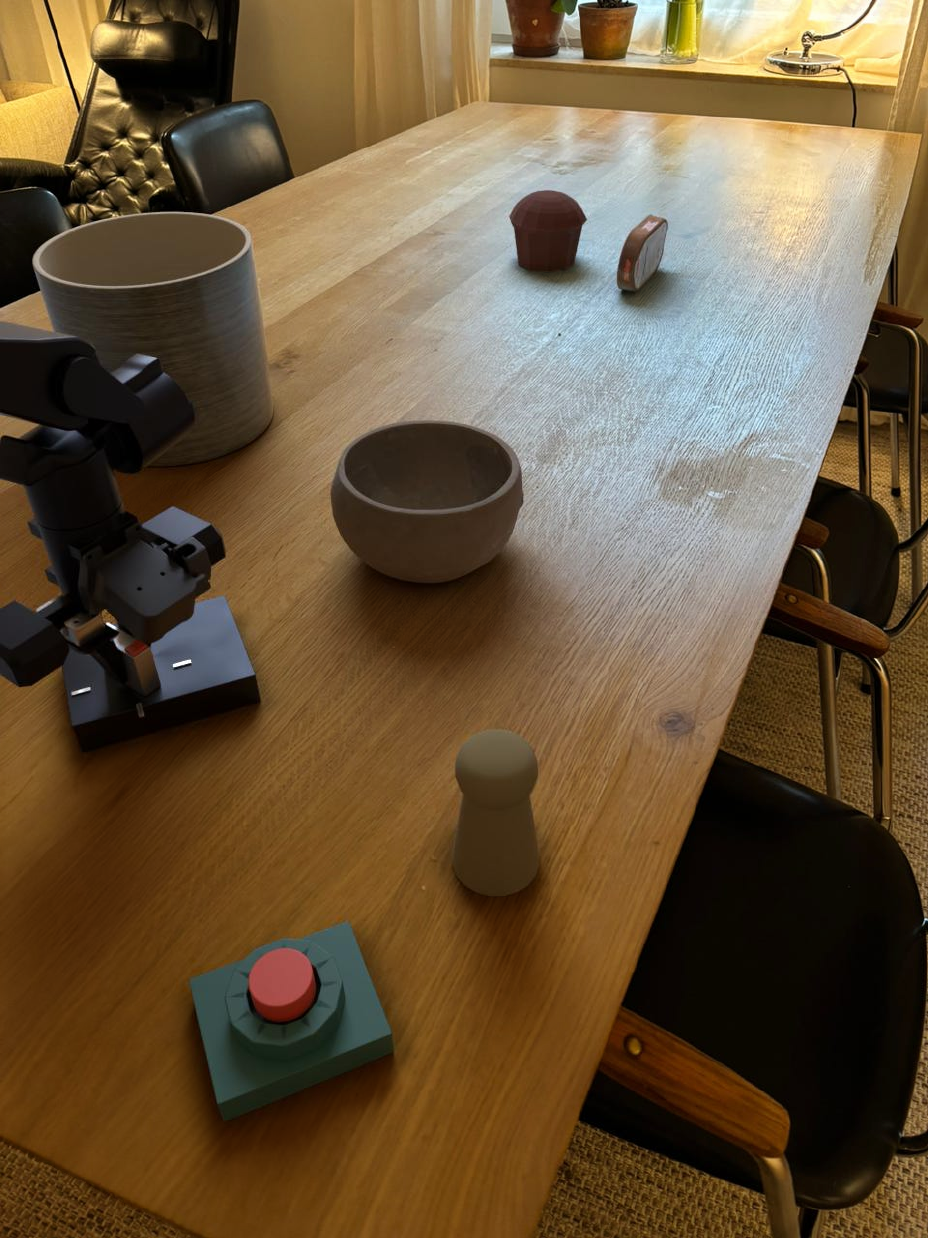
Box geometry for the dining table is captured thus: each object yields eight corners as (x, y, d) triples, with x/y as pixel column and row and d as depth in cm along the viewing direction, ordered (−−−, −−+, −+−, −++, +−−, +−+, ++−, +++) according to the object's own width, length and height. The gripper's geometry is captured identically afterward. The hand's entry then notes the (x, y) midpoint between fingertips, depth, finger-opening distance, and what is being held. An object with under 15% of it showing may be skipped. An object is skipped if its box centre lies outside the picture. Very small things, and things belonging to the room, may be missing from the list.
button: (261, 1032, 55) (256, 1016, 54) (246, 977, 57) (241, 961, 56) (324, 1008, 56) (320, 992, 55) (306, 955, 58) (302, 939, 57)
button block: (224, 1123, 55) (211, 1089, 52) (195, 998, 60) (182, 962, 58) (394, 1052, 58) (390, 1017, 55) (351, 940, 63) (346, 903, 61)
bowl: (531, 508, 101) (534, 420, 94) (505, 619, 87) (506, 525, 81) (367, 493, 103) (359, 406, 97) (317, 599, 90) (304, 506, 83)
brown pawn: (459, 818, 71) (456, 709, 64) (544, 829, 70) (550, 720, 63) (444, 890, 66) (438, 781, 59) (534, 902, 65) (540, 793, 58)
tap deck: (83, 764, 75) (72, 735, 73) (66, 664, 84) (56, 636, 82) (264, 710, 79) (258, 682, 77) (230, 621, 88) (224, 593, 86)
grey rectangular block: (103, 671, 79) (90, 630, 76) (120, 660, 80) (107, 619, 77) (145, 696, 76) (132, 655, 73) (161, 685, 77) (149, 644, 74)
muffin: (494, 264, 152) (494, 196, 146) (533, 243, 159) (534, 177, 152) (560, 281, 147) (563, 211, 140) (597, 258, 153) (602, 190, 147)
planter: (241, 477, 106) (207, 293, 93) (48, 462, 109) (-11, 282, 96) (301, 382, 123) (279, 215, 110) (132, 371, 126) (92, 207, 113)
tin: (646, 262, 152) (652, 205, 146) (666, 265, 151) (673, 208, 145) (612, 297, 142) (617, 238, 136) (633, 301, 140) (639, 241, 135)
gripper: (33, 623, 58) (100, 796, 68) (260, 482, 69) (289, 648, 80) (-74, 558, 63) (3, 728, 73) (155, 437, 75) (194, 598, 85)
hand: (131, 674), depth 78 cm, fingers closed on grey rectangular block, 2 cm apart
